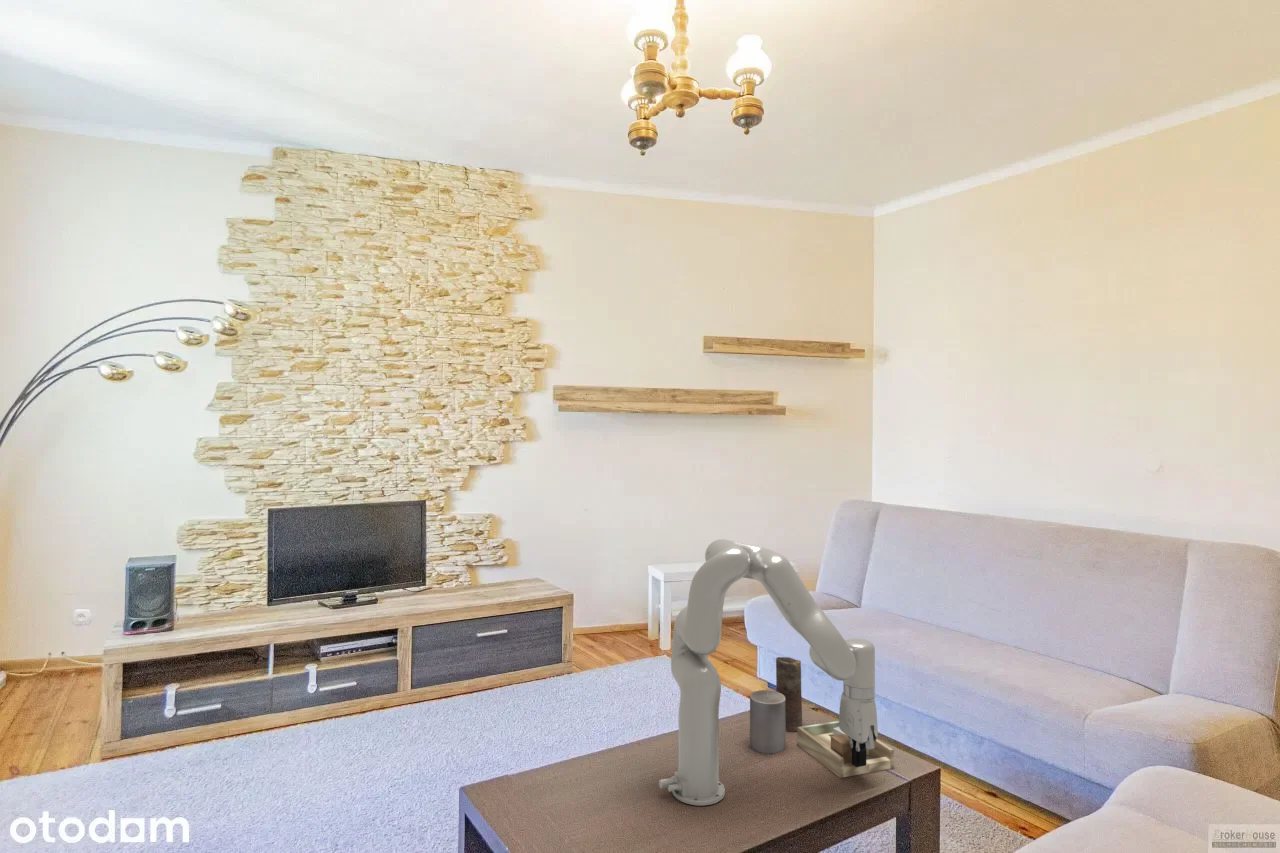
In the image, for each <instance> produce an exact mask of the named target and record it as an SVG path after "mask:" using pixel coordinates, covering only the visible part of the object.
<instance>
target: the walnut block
mask: <svg viewBox="0 0 1280 853" xmlns="http://www.w3.org/2000/svg"><path fill="white" fill-rule="evenodd" d="M831 749H832V750H833V751H834V752H836V753H837V754H838V755H840V756H841V757H843V758H844V764H846V763H852V748H851V746H850V739H849V737H848V735H846V734H841V735H835V736H831Z"/></svg>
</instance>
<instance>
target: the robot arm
mask: <svg viewBox="0 0 1280 853" xmlns="http://www.w3.org/2000/svg"><path fill="white" fill-rule="evenodd" d="M704 554H705V555H704V558H705V562H704V563H703V564H702V565H701V566H700V567H699V569H698V570H697V571H696V572H695V574H694V575H693V577H692V579H691V583H690V587H689V592H688V593H689V594H688V599H687V605H686V606H685V607H684V608H683V609H682V610H680V611H679V612H678V614H677V616H676V618H675V620H674V624H673V625H674V626H673V634H672V644H671V646H672V647H671V658H670V670H671V674H672V677H673V679H674V680H675V682H676V685H677V686H678V688H679V690H680V692H679V693H680V696H679V706H678V720H677V721H678V724H677V726H678V770H675V771H674V775H673V776H671V777H669V778H661V779H659V780H658V786H659V789H667V791H668V792H671V793H672V795H673V797H674V799H676V800H678V801H679V802H682V803H684V804H687V805H690V806H699V807H700V806H710V805H714V804H717V803H718V802H720V801H722V800H723V799H724V797H725V795H726V786H724V784H723V783H722V782H721V781H720V780H719V779H720V778H719V768H720V767H719V757H720V756H719V751H720V750H719V746H720V745H719V740H720V739H719V733H720V732H719V731H720V729H719V713H720V712H719V711H720V701H721V700H720V699H721V692H722V681H721V677H720V674H719V671H718V670H717V668H716V667H715V665H713V663H712V661H710V660H709V655H711V654H713V653H715V651H716V650H717V649H718V647H720V646H719V645H720V644H721V639H722V623H723V611H724V605H725V599H726V598H725V597H726V594H727V592H728V590H729V589H730V587H731V586H732V585H733V584H735V583H736V582H737V581H740V580H741V579H743V578H744V579H749V580H755V581H758V582H759V583H761V584H762V586H763V588H764V589H765V591H766V592H767V594H768V595H769V597H770V598H771V600H772V601H773V602H774V604H775V605H776V607H777V609H778V610H779V612H780V613H781V615H782V617H783V618H784V620H785V621H786V622H787V623H788V624H789V625H790V626H791V627H792V628H793V629H794V631H795V632H797V633H798V634H799V635H800V636H801V637H802V638H803V639H804V640H805V641H806V643H808V645H809V646H810V647H809V651H808V652H809V653H808V654H809V658H810V660H811V661H812V663H813V664H814V665H815V666H816V667H818V668H819V669H820V670H821V671H823V672H825V673H826V674H827V675H828V676H829V677H831V678H832V679H834V680H836V681H840V682H841V681H842V682H843V683H842V687H843V688H842V689H843V690H842V692H841V695H840V702H839V711H838V712H839V714H838V715H839V716H838V717H839V718H838V721H839V728H840V730H841V731H842V732H844V733H845V734H846V735H848V737H849V739H850V746H851V748H852V764H853V765H854V766H855V767H861V766H866V750H868V749H874V748H875V747H874V741H876V740H877V739H878V735H879V733H878V726H879V725H878V724H879V723H878V712H877V705H876V701H875V699H876V651H875V650H876V649H875V648H876V647H875V646H874V644H873V642H872V641H870V640H867V639H865V638H850V639H845V638H844V637H843V635H842V634H841V633H840V630H838V629H837V627H836V625H834V623H833V622H832V621H831V619H829V617H828V616H827V615H826V614H825V612H824V610H823V609H822V608H821V607H820V606H819V604H818V603H817V602H816V600H815V599H814V597H813V596H812V595H811V592H810V591H809V590H808V588H807V587H806V585H805V584H804V583H803V580H802V579H801V578H800V576H799V574H798V573H797V571H796V570H795V569H794V567H793V565H792V564H791V562H790V561H789V559H787V558H786V557H785V556H784V555H782V554H780V553H778V552H776V551H774V550H772V549H769V548H764V547H760V546H756V545H750V544H746V543H743V542H737V541H733V540H730V539H729V540H728V539H726V538H725V539H724V538H722V539H717V540H714V541H712V542H711V543H710V544H709V545H708V546H707V548H706V550H705V553H704Z"/></svg>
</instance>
